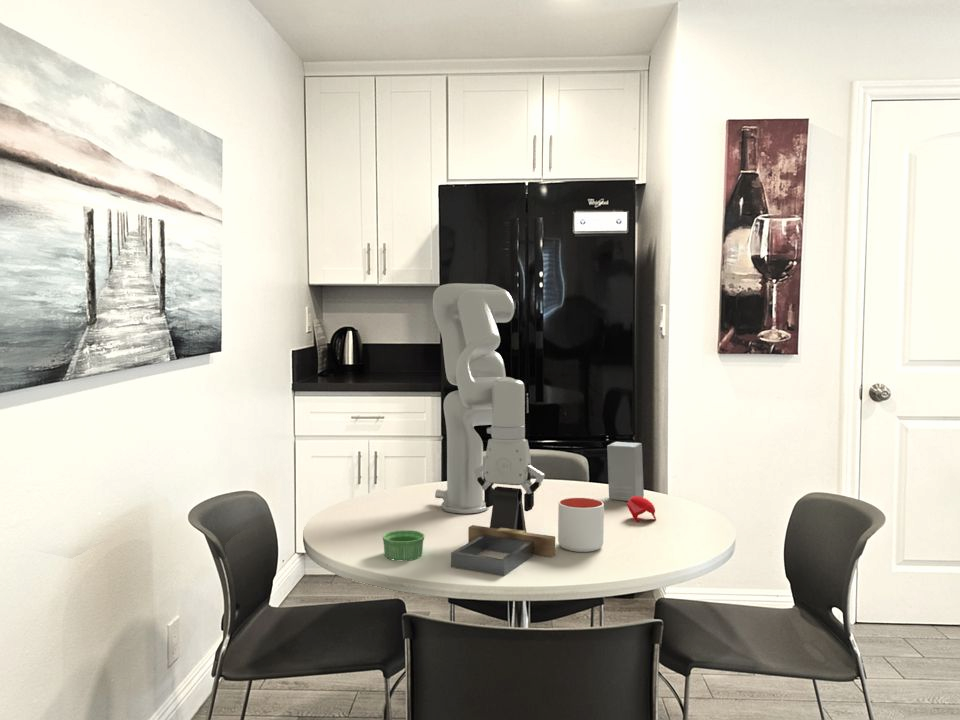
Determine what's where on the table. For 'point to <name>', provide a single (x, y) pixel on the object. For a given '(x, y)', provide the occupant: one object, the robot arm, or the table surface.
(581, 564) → the table surface
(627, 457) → the skincare box
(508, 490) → the phone stand
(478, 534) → the door edge rail
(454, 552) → the frame
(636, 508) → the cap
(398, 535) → the ramekin
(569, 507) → the cup
